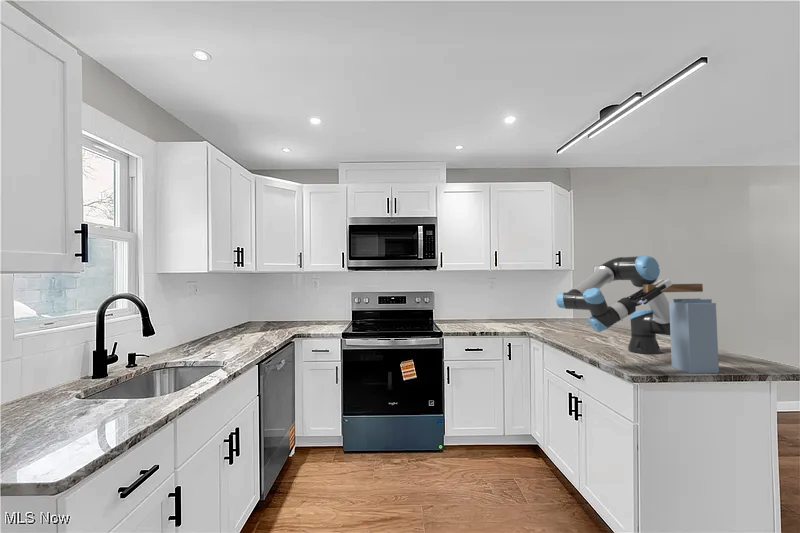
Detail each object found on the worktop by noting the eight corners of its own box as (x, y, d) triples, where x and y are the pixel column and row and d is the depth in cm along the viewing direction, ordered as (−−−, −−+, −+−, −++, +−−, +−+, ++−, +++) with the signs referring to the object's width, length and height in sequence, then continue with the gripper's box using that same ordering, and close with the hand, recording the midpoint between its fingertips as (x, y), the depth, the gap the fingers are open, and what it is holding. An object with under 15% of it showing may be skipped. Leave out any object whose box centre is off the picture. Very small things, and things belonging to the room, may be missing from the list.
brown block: (643, 292, 176) (643, 284, 176) (696, 291, 175) (696, 283, 176) (648, 292, 172) (647, 284, 172) (702, 291, 172) (702, 283, 172)
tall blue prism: (671, 367, 179) (669, 298, 180) (698, 366, 179) (695, 298, 180) (690, 373, 167) (687, 300, 168) (718, 373, 167) (715, 299, 168)
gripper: (616, 314, 182) (659, 288, 182) (637, 317, 166) (684, 289, 166) (608, 300, 183) (651, 274, 183) (628, 302, 166) (675, 274, 166)
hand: (667, 281), depth 174 cm, fingers closed on brown block, 3 cm apart
